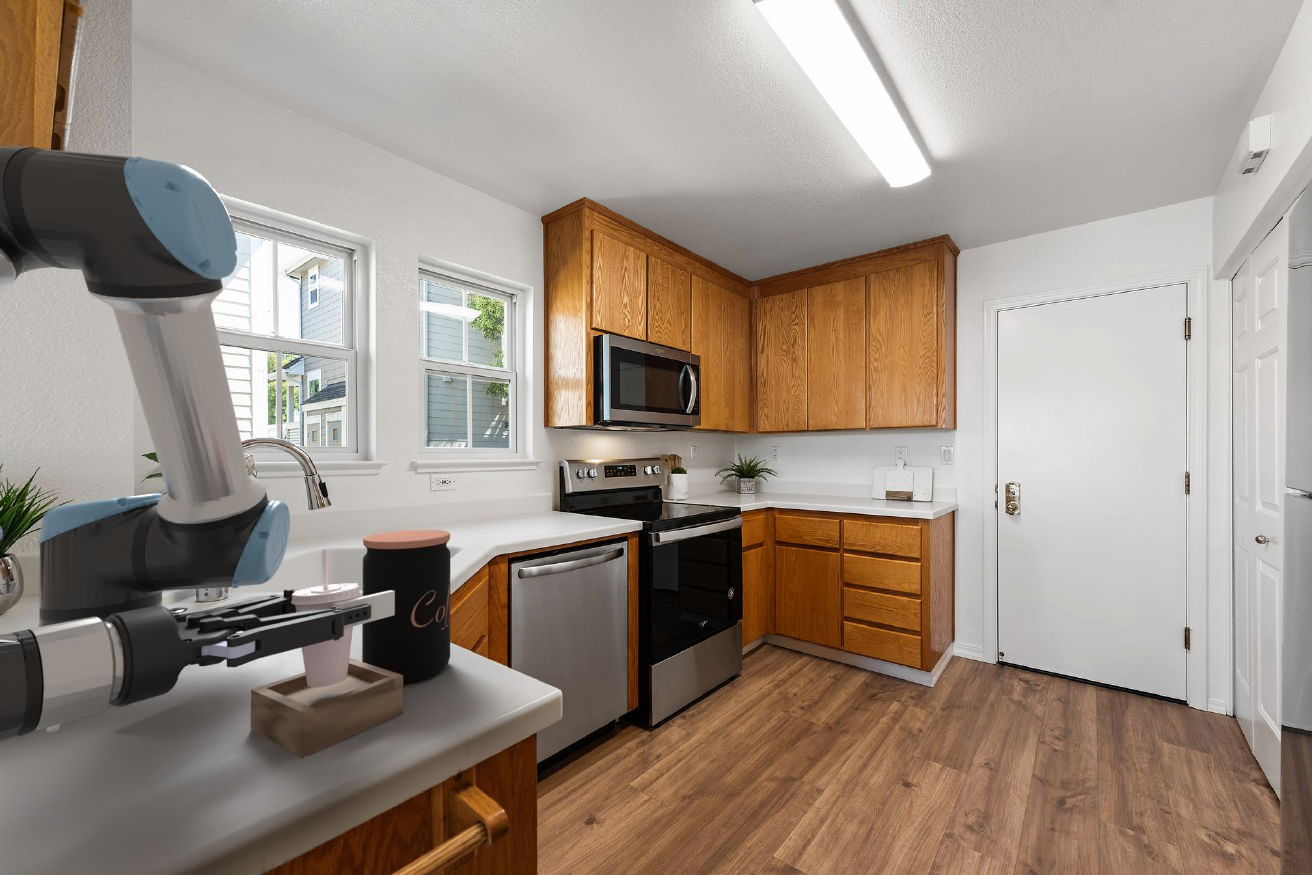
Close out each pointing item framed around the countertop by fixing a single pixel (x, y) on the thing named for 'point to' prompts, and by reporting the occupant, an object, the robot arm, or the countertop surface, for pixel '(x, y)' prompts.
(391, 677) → the wooden tray
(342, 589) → the smoothie
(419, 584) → the coffee jar
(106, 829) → the countertop surface
